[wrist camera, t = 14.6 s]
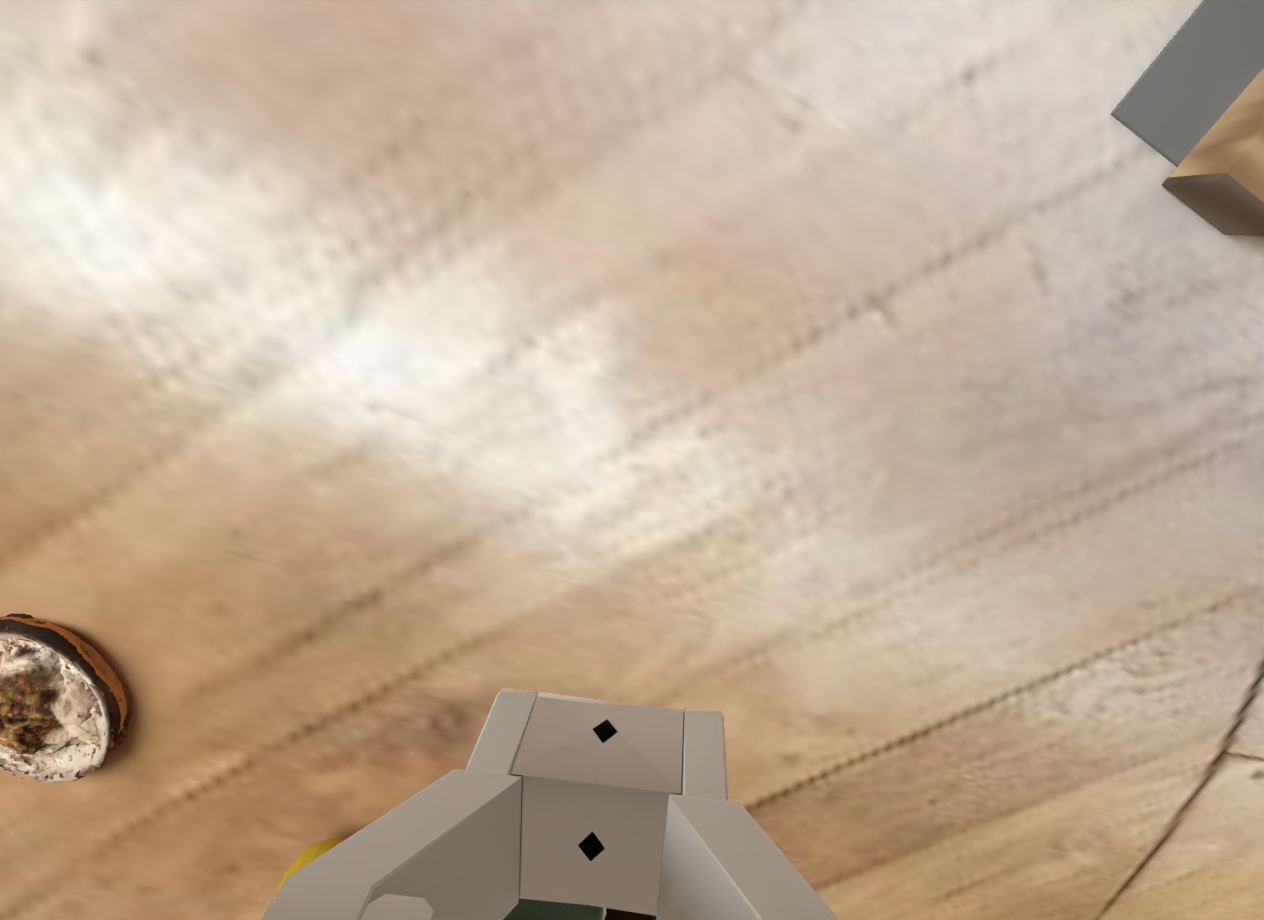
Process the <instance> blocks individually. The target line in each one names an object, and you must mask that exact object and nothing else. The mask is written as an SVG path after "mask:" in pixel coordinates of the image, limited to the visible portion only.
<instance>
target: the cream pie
mask: <svg viewBox="0 0 1264 920" xmlns="http://www.w3.org/2000/svg"><path fill="white" fill-rule="evenodd" d="M131 702H132V700H131V697H130V694H129V692H128V687H127V686H125V685H124V684H123V683H121V682H120V681H119V679H118V678H117V676H116V674H115V673H114V672H113V671H112V669H111V668H110V667H109V665H108V664H107V663H106V662H105V660H104V659H103V658H102V657H101V655H100V654H99V653H98V652H97V651H96V650H95V649H94V648H93V647H91V646H90V645H88V644H87V643H85V642H84V641H83V640H81V639H80V638H79V637H78V636H77V635H75V634H73V633H72V632H70V631H68V630H66V629H64V628H62V627H59V626H57V625H54V624H51V623H49V622H47V623H46V624H44V623H41V624H40V623H39V621H38V620H36V619H34V618H33V617H32V616H31V615H26V614H10V615H7V616H6V617H2V618H0V766H1V767H3V768H4V770H10V771H16V770H19V771H21V772H22V773H23V774H29V776H30V777H32V776H33V777H34V779H35V780H37V782H42V781H44V782H47V783H48V782H49V783H57V782H59V783H60V782H67V781H68V782H69V781H77V780H78V779H80V778H82V777H84V776H86V775H88V774H90V773H91V772H94V771H96V768H97V767H102V766H103V765H104V764H105V762H106V760H107V758H108V753H109V752H110V751H113V750H115V749H116V747H118V745H121V744H123V743H122V742H123V739H124V738H126V737H127V736H126V735H127V732H126V731H128V730H127V729H126V730H125V728H126V727H127V726H128V722H129V721H130V716H131V714H132V713H131V709H132V703H131ZM12 775H13V776H15V774H14V773H12ZM46 778H48V780H47V779H46ZM52 778H55V779H52ZM21 779H23V778H21Z"/></svg>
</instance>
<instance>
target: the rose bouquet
mask: <svg viewBox="0 0 1264 920" xmlns="http://www.w3.org/2000/svg"><path fill="white" fill-rule="evenodd" d="M605 915H606V908H603V907H597V906H591V905H583V904H572V903H562V902H552V901H541V900H531V899H520V898H519V903H518V904H517V905H516V906H515V907H514V908H513V909H512V910H511V912H510V913H509V914H508V915H507V916H506V917H505V918H504V919H503V920H604V919H605ZM647 915H648V914H647ZM606 916H607V915H606ZM648 916H649V917H650V918H651V919H652V920H656V916H654V915H648Z"/></svg>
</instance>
